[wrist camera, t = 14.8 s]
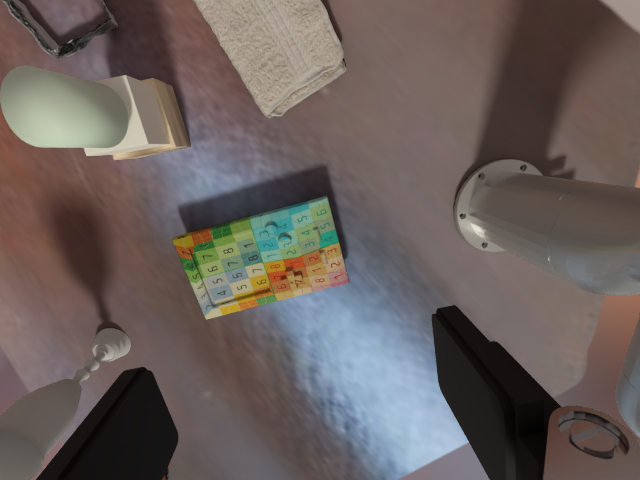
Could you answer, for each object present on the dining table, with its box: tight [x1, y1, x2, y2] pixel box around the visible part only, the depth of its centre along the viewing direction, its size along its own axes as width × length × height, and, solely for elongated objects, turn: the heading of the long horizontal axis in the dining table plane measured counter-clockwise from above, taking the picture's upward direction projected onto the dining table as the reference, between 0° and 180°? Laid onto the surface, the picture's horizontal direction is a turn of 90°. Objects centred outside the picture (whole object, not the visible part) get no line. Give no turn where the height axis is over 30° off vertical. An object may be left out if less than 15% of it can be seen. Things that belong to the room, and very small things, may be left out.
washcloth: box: [193, 0, 346, 119], centre depth 35 cm, size 12×18×3 cm, turn 33°
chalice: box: [0, 328, 131, 480], centre depth 38 cm, size 7×7×18 cm
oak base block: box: [113, 78, 191, 160], centre depth 36 cm, size 7×7×5 cm
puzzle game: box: [172, 196, 349, 319], centre depth 42 cm, size 12×5×20 cm
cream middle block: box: [84, 75, 170, 156], centre depth 32 cm, size 6×6×5 cm
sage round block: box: [0, 66, 128, 148], centre depth 26 cm, size 6×6×6 cm
